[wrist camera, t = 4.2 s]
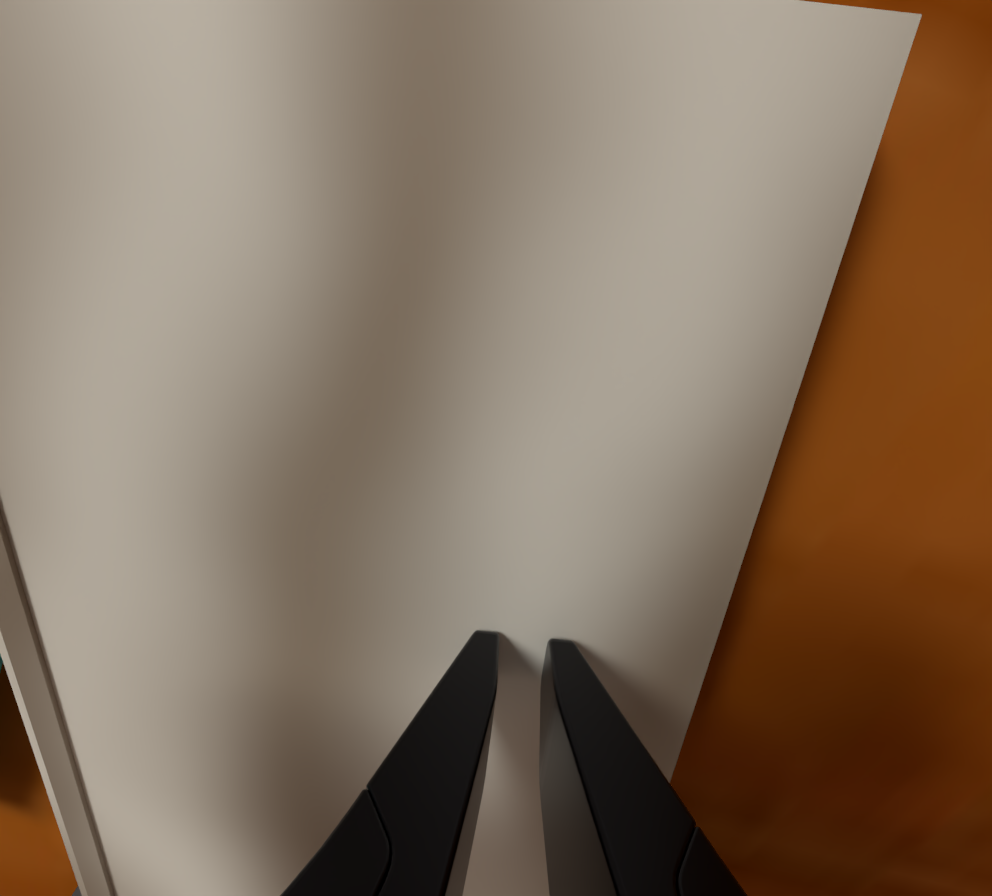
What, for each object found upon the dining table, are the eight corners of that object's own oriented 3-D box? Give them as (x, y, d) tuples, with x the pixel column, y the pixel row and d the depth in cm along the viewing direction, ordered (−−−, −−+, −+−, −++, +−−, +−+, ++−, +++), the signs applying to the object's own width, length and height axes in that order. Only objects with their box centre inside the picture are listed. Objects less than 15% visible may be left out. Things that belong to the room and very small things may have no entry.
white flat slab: (839, 56, 7) (928, 10, 5) (599, 891, 14) (610, 971, 12) (-103, -49, 7) (-274, -126, 5) (133, 851, 14) (87, 927, 12)
